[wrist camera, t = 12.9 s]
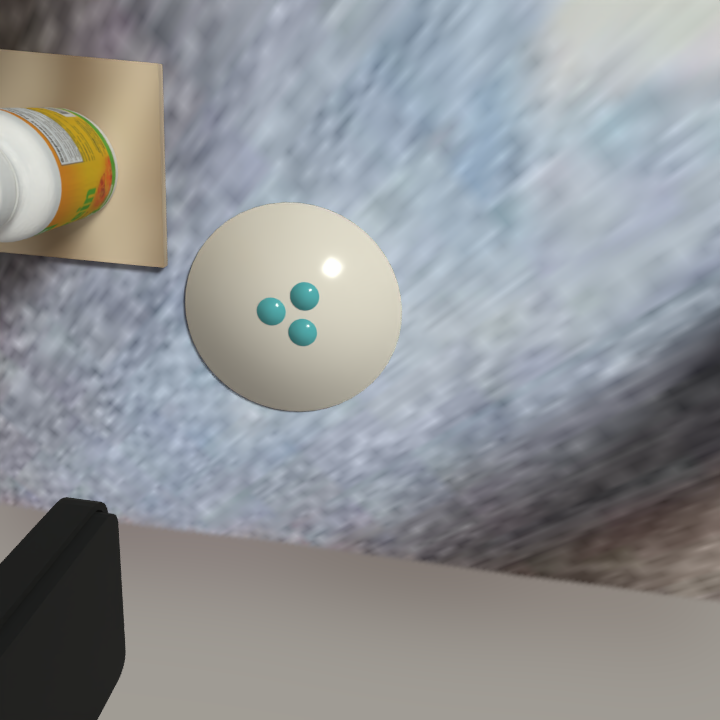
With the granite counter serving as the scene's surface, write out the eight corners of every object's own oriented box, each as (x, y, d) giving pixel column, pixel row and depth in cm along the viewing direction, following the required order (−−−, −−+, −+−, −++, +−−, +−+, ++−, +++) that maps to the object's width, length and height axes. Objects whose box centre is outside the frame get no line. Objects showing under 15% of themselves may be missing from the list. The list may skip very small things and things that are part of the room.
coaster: (413, 213, 34) (413, 214, 34) (390, 419, 38) (390, 421, 38) (184, 191, 34) (183, 192, 34) (187, 399, 38) (186, 401, 38)
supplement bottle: (69, 238, 34) (-46, 285, 25) (-6, 151, 33) (-157, 169, 24) (142, 176, 33) (48, 203, 24) (67, 83, 32) (-63, 75, 23)
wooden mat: (162, 64, 32) (158, 63, 31) (167, 265, 35) (163, 267, 35) (-40, 45, 32) (-48, 44, 31) (-14, 247, 36) (-21, 249, 35)
